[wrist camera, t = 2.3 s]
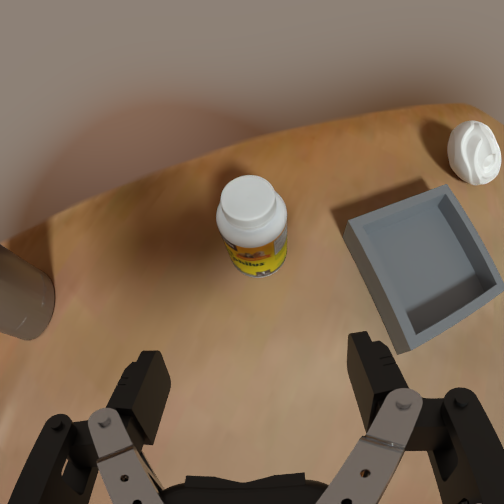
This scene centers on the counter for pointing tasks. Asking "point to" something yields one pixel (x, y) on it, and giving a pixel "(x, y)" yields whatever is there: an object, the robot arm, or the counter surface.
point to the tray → (422, 265)
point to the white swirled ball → (474, 153)
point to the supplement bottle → (253, 225)
